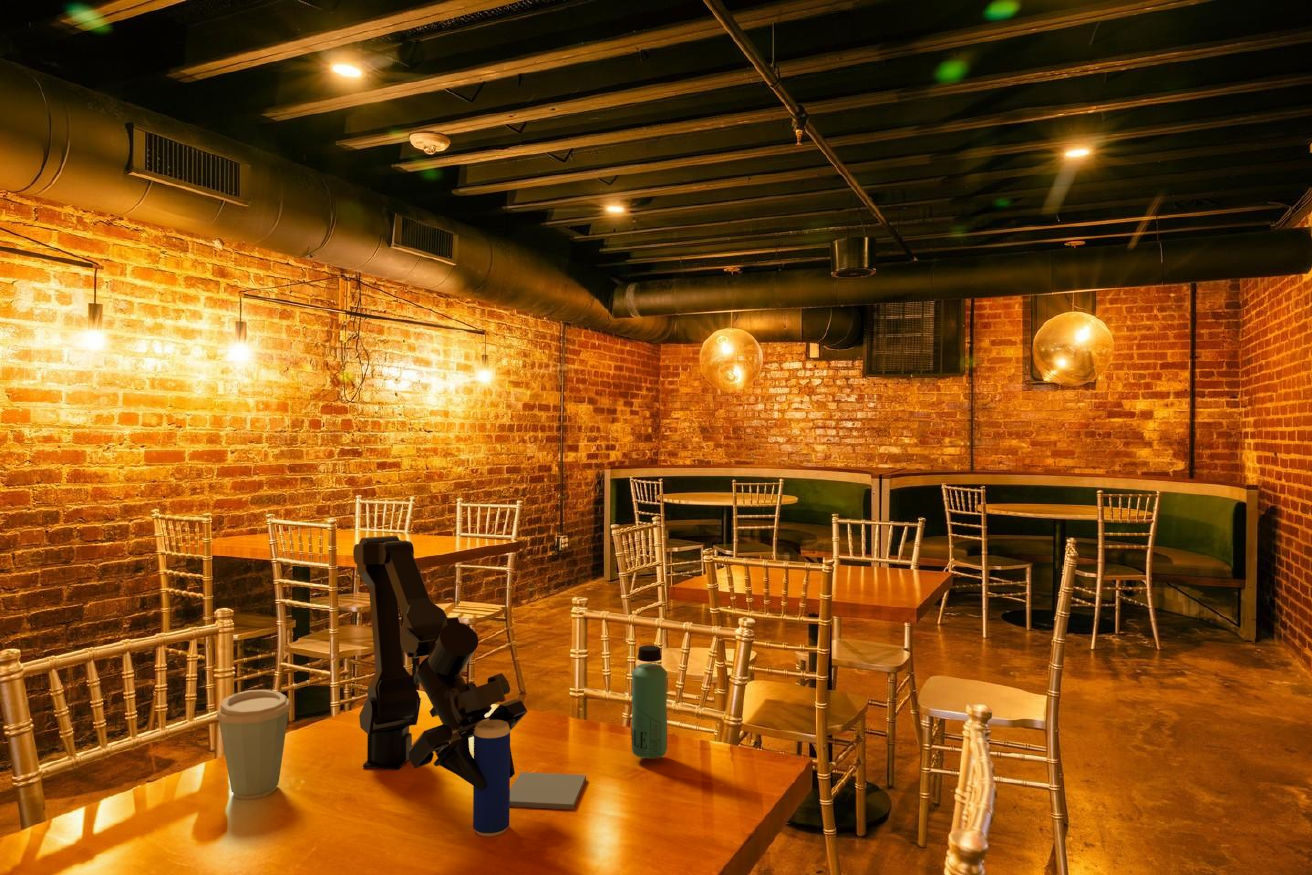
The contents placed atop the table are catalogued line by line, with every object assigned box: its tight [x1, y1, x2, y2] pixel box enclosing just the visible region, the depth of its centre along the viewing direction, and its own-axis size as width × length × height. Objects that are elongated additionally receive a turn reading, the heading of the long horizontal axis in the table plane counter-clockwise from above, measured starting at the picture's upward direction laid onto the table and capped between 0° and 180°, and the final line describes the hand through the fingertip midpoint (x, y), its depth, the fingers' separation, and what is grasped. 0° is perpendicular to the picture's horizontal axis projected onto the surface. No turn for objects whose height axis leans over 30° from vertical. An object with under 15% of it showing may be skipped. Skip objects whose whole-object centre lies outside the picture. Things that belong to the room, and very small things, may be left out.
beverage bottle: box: [630, 644, 669, 759], centre depth 143 cm, size 6×7×20 cm
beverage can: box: [472, 720, 511, 837], centre depth 117 cm, size 5×5×15 cm
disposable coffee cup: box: [215, 689, 292, 801], centre depth 129 cm, size 11×11×15 cm
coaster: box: [510, 771, 587, 811], centre depth 130 cm, size 11×11×1 cm
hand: (498, 782), depth 117 cm, fingers closed on beverage can, 5 cm apart
